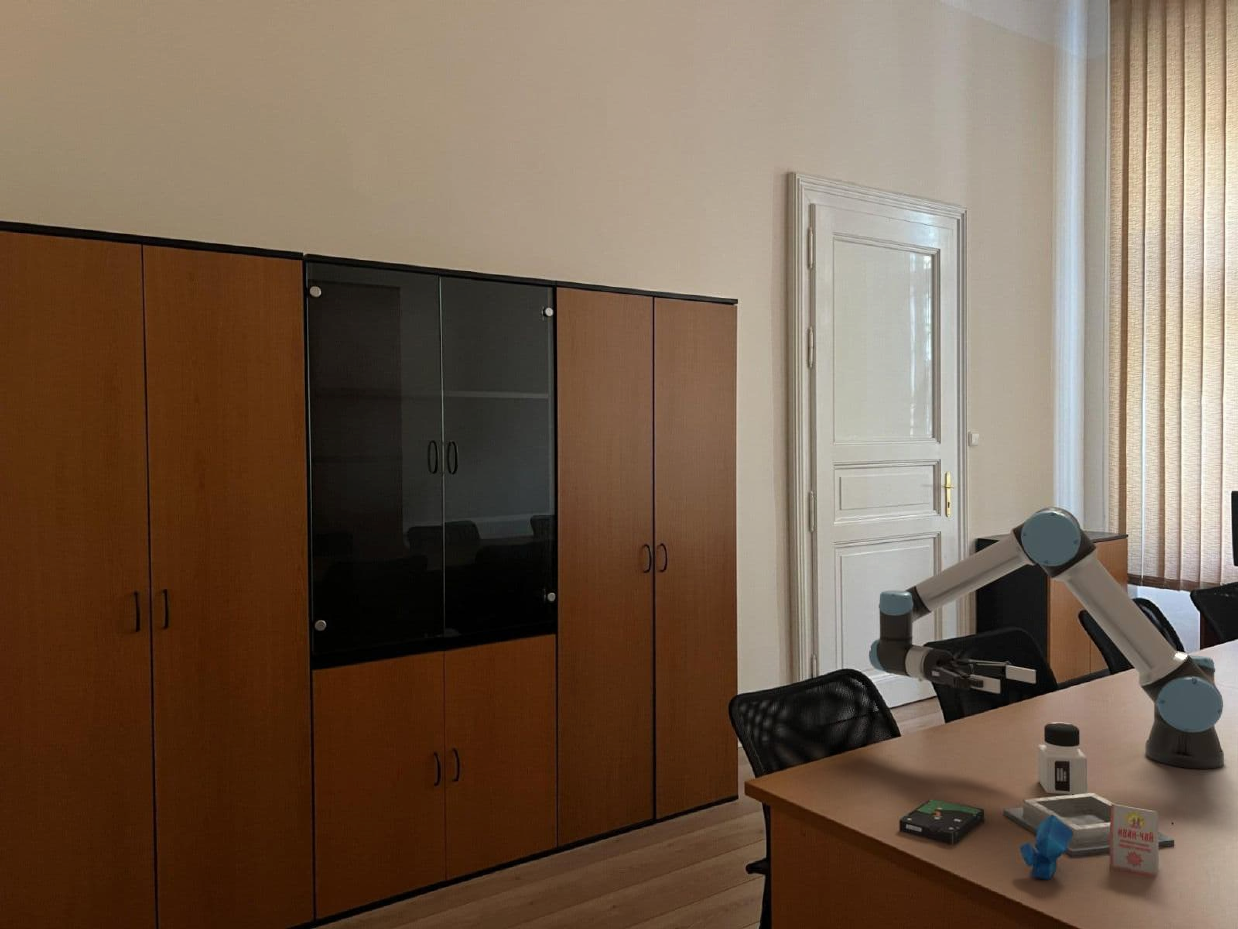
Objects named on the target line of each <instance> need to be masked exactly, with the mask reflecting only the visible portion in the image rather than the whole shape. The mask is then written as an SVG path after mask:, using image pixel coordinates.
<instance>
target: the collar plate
mask: <svg viewBox="0 0 1238 929" xmlns="http://www.w3.org/2000/svg"><path fill="white" fill-rule="evenodd" d="M1111 804H1115V802H1112V801H1110V800H1108V799H1106V798H1104V797H1102V796H1100V795H1098V794H1096V793H1095V792H1087V793H1086V794H1076V795H1072V794H1065V795H1059V796H1048V797H1037V798H1036V797H1035V798H1025V799H1022V807H1015V808H1005V809H1004V808H1003V809H1002V810H1003V811H1002V813H1003V814H1002V815H1004V816H1005V817H1007V818H1008V819H1010V820H1012V821H1013V822H1015V823H1016V824H1018V825H1019V826H1021V827H1022V828H1025V830H1027V831H1030V832H1032V833H1033V834H1034V835H1036V836H1037V830H1038V826H1039V825H1040V824H1041V823H1042V822H1043V821H1044V820H1046V819H1047V818H1048V817H1049V816H1050V815H1054V816H1056V817H1057V818H1058V819H1059V820H1060V821H1061V822H1063V823H1064V824H1065V825H1066V826H1067V827H1068V828H1070V829H1071V830H1072V831H1073V835H1072V838H1071V840H1070V842H1069V844H1068V846H1067V848H1066V850H1065V853H1066V854H1068V855H1069V856H1070V857H1072V858H1077V857H1084V856H1097V855H1105V854H1110V820H1111ZM1158 838H1159V848H1166V847H1167V848H1168V847H1174V846H1175V839H1173V838H1171V837H1170V836H1168V835H1165V834H1163V833H1161V832H1159V831H1158ZM1065 853H1064V854H1065Z"/></svg>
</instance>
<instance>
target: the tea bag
mask: <svg viewBox="0 0 1238 929" xmlns="http://www.w3.org/2000/svg"><path fill="white" fill-rule="evenodd" d="M1158 822H1159V821H1158V811H1156V810H1149V809H1144V808H1137V807H1131V806H1126V805H1122V804H1117V803H1114V804H1111V820H1110V853H1109V868H1112V869H1118V870H1121V871H1122V870H1123V871H1127V872H1131V873H1135V874H1136V873H1137V874H1141V875H1146V876H1150V877H1156V878H1157V876H1158V875H1157V874H1158V871H1159V866H1160V864H1159V862H1160V860H1159V853H1160V852H1159V848H1160V847H1159V838H1158V832H1159V823H1158Z"/></svg>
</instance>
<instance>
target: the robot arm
mask: <svg viewBox="0 0 1238 929" xmlns="http://www.w3.org/2000/svg"><path fill="white" fill-rule="evenodd" d="M1095 544H1096V543H1094V542H1093V541H1092V539H1090V537H1089V536H1088V535H1087V533H1086V532H1085V531H1084V530H1083V529H1082V528H1081V525H1080V522H1079V521H1078V519H1077V517H1075V515H1074V514H1072V513H1071V512H1069V511H1068V510H1066V509H1064V508H1061V507H1056V506H1055V507H1054V506H1053V507H1052V506H1050V507H1044V508H1042V509H1040V510H1037V511H1036V512H1034V513H1033V514H1032V515H1031V516H1030V517H1028V518H1027V519H1026V520H1025V521H1024V522H1023V523H1021V524H1019V525H1017V526H1016V527H1014V528H1011V530H1010V533H1009V535H1007V536H1006V537H1005V538H1004V537H1003V538H1002V539H1000V540H999V541H997V542H995V543H993V544H991V545H989V546H986V547H985V548H983V549H982V550H979V551H978V552H975V553H974V554H972V555H970V556H968V557H966V558H964V559H962V560H960V561H958V562H956V563H954V564H953V565H951V566H949V567H947V568H945V569H943V570H941V571H939V572H938V573H936V574H934V575H932V576H930V577H928V578H927V579H924V580H922V581H920V582H919V583H917V584H916V585H914V586H911V587H909V588H907V589H906V590H899V589H898V590H896V589H895V590H892V589H891V590H884V591H881V593H880V595H879V604H878V609H879V638H878V639H875V640H874V641H873V642H872V643H871V645H870V650H868V660H869V662H870V665H871V666H872V668H874V669H876V670H878V671H880V672H884V673H887V674H891V675H896V676H897V675H898V676H903V677H909V678H913V679H918V682H920V683H921V682H923V681H928V682H931V683H935V684H941V685H945V684H947V685H949V686H951V687H954V688H956V689H961V688H962V690H963V691H964V692H968V691H970V688H971V689H976V690H980V691H985V692H989V693H994V694H1001V679H996V678H992V677H1005V678H1006V679H1009V680H1015V681H1020V682H1024V683H1030V684H1036V683H1037V679H1036V676H1037V674H1036V672H1037V670H1035V669H1030V668H1024V667H1019V666H1014V665H1012V663H1011V662H1010V661H1008V660H1007V661H1005V662H999V661H989V660H976V659H970V658H966V659H956V660H955V658H954V656H953V654H952V653H951V652H950V651H948V650H946V649H945V650H944V649H938V648H933V647H929V646H924V645H923V646H922V645H918V644H917V645H916V644H913V638H914V636H913V624H914V623H915V622H916V621H918V620H919V619H921V618H923V617H925V616H927V615H930V614H931V613H932V612H934V611H937V610H938V609H940V608H942V607H944V606H946V605H948V604H950V603H952V602H954V601H956V600H958V599H960V598H962V597H965V596H966V595H969V594H970V593H972V592H974V591H976V590H978V589H980V588H982V587H984V586H986V585H988V584H990V583H993V582H994V581H996V580H998V579H999V578H1001V577H1004V576H1006V575H1007V574H1010V573H1012V572H1014V571H1015V570H1018V569H1020V568H1022V567H1023V566H1026V565H1030V566H1035V565H1036V564H1037V565H1038V564H1039V566H1040V567H1041V568H1042V570H1044V572H1045V573H1046V574H1047V576H1048V577H1049V578H1050V579H1051V580H1052V581H1057V582H1062V583H1064V585H1065V586H1066V587H1067V589H1068V590H1069V591H1070V592H1071V593H1072V594H1073V596H1074V597H1075V598H1076V599H1077V601H1079V603H1081V605H1082V607H1084V609H1085V610H1086V611H1087V613H1088V614H1089V615H1090V616H1091V618H1093V620H1094V621H1095V622H1096V623H1097V625H1098V626H1099V627H1100V628H1101V629H1102V630H1103V632H1104V633H1105V634H1106V635H1107V637H1108V638H1109V639H1110V640H1111V642H1112V643H1114V645H1115V646H1116V647H1117V649H1118V650H1119V651H1120V652H1121V653H1122V654H1123V656H1124V658H1126V659H1127V660H1128V662H1129V663H1130V664H1131V665H1132V666H1133V667H1134V669H1135V670H1136V672H1138V685H1139V686H1140V688H1142V690H1143V691H1144V693H1146V695H1147V696H1148V697H1149V699H1150V700H1151V701H1152V702H1153V709H1154V710H1153V714H1154V716H1153V723H1152V726H1151V729H1150V733H1149V735H1148V739H1147V740H1146V741H1145V746H1144V747H1145V751H1144V752H1145V755H1146V756H1147V757H1148V758H1149V759H1151V760H1153V761H1155V762H1158V763H1161V764H1164V765H1169V766H1173V767H1179V768H1184V769H1185V768H1187V769H1195V770H1196V769H1198V770H1199V769H1201V770H1203V769H1204V770H1205V769H1206V770H1208V769H1216V768H1220V767H1222V766H1224V764H1225V753H1224V750H1223V748H1222V746H1221V743H1220V740H1219V736H1218V734H1217V731H1216V727H1215V725H1216V724H1217V723H1218V721H1219V720H1220V718H1221V717H1222V713H1223V709H1224V702H1223V701H1224V700H1223V696H1222V694H1221V692H1220V690H1219V689H1218V687H1217V684H1216V682H1215V673H1216V668H1215V661H1214V660H1213V659H1212V658H1211V657H1207V656H1201V655H1193V654H1192V655H1191V654H1188V652H1183V651H1178V650H1175V649H1174V647H1173V646H1172V645H1171V644H1170V642H1168V641H1167V639H1166V638H1165V637H1164V636H1163V635H1162V633H1161V632H1160V631H1159V629H1158V628H1157V627H1156V626H1155V625H1154V623H1152V621H1151V620H1150V619H1149V618H1148V617H1147V616H1146V614H1145V613H1144V612H1143V611H1142V610H1141V609H1140V607H1139V606H1138V605H1137V604H1136V603H1135V602H1134V600H1133V599H1132V598H1131V596H1129V594H1128V593H1127V592H1126V591H1125V589H1123V587H1122V586H1121V585H1120V584H1119V583H1118V582H1117V580H1116V579H1115V578H1114V577H1113V576H1112V575H1111V573H1110V572H1109V571H1108V570H1107V568H1105V566H1104V565H1103V564H1102V563H1101V562H1100V560H1099V559H1098V552H1099V548H1098V547H1097V546H1096V545H1095Z"/></svg>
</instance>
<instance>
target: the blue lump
mask: <svg viewBox="0 0 1238 929" xmlns="http://www.w3.org/2000/svg"><path fill="white" fill-rule="evenodd" d="M1072 835H1073V831H1072V830H1071V829H1070V828H1068V827H1067V826H1066V825H1065V824H1064V823H1063V822H1061V821H1060V820H1059V819H1058V818H1057V817H1056V816H1054V815H1050V816H1049V817H1048V818H1047V819H1046V820H1044V821H1043V822H1042V823H1041V824H1040V825H1039V826H1038V830H1037V835H1036V838H1035V845H1034V847H1035V849H1034V847H1033V845H1032V843H1031V842H1027V843H1025V844H1022V845H1019V851H1020V852H1021V855H1022V857H1023V860H1024V862H1025V863H1026V865H1027V866H1028V867H1032V876H1033V877H1034V878H1039V879H1041V880H1042V879H1043V880H1046V881H1048V880H1049V879H1051V877H1052V875H1053V874H1054V872H1055V870H1056V869H1057V868H1058V864H1057V862H1058V859H1059V858H1060V857H1061V856H1062V855H1064V854H1065V850H1066V848H1067V846H1068V844H1069V842H1070V840H1071V838H1072Z"/></svg>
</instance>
